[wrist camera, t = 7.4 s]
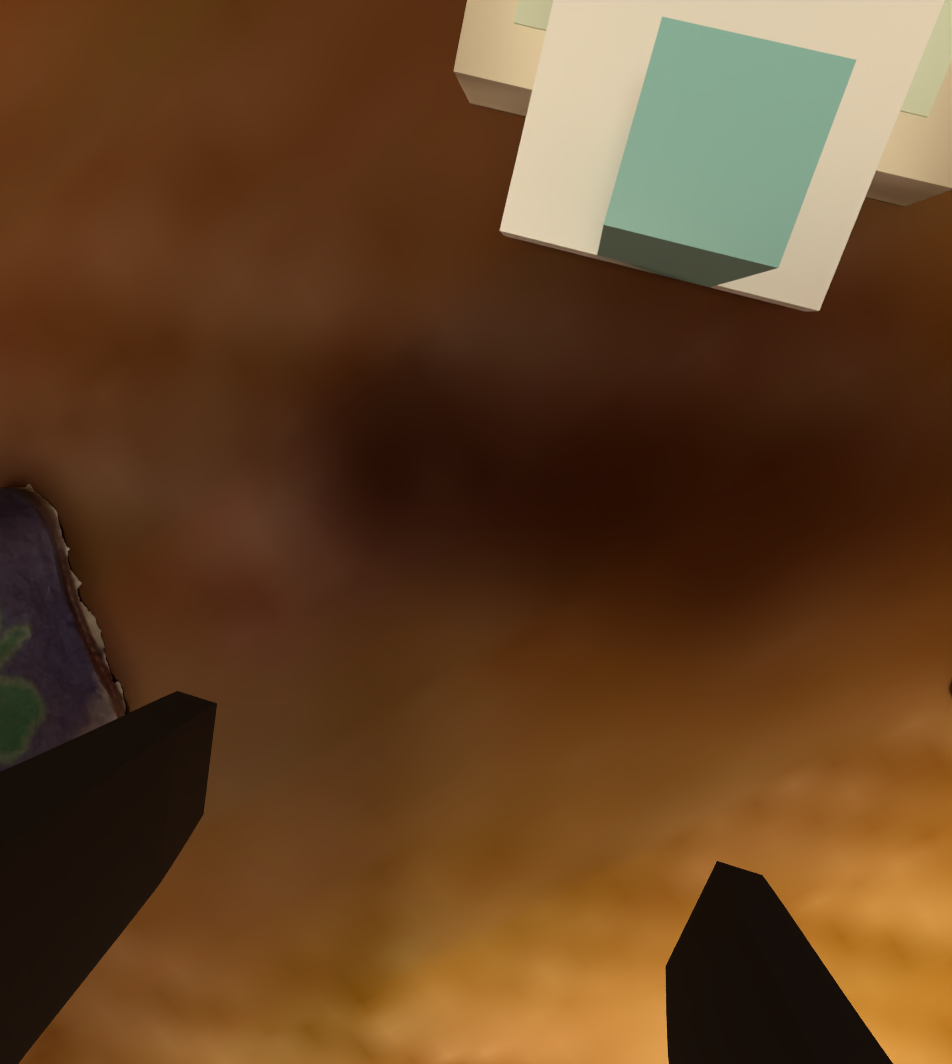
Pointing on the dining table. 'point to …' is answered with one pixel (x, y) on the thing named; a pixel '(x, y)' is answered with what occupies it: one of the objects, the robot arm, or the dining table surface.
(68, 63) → the dining table surface
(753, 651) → the dining table surface
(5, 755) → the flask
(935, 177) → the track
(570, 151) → the block
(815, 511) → the dining table surface
